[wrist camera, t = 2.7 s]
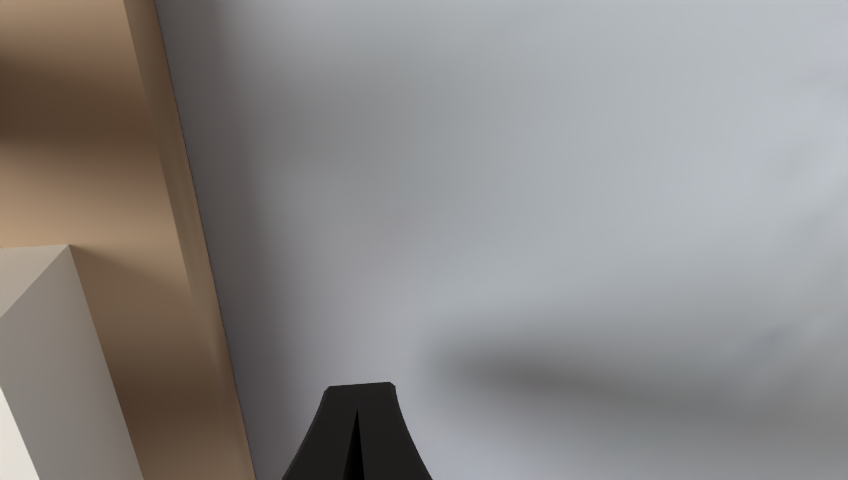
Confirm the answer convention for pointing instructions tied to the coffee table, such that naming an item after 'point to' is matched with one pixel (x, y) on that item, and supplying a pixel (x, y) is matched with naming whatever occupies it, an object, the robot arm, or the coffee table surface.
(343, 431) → the robot arm
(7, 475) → the block
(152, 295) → the subfloor board
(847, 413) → the coffee table surface
